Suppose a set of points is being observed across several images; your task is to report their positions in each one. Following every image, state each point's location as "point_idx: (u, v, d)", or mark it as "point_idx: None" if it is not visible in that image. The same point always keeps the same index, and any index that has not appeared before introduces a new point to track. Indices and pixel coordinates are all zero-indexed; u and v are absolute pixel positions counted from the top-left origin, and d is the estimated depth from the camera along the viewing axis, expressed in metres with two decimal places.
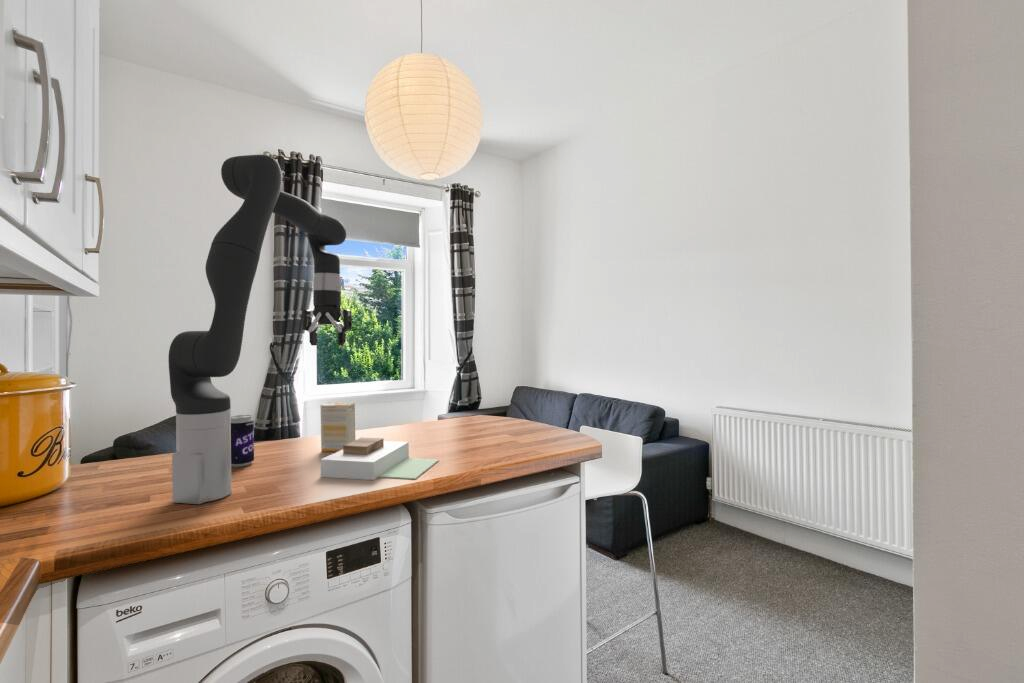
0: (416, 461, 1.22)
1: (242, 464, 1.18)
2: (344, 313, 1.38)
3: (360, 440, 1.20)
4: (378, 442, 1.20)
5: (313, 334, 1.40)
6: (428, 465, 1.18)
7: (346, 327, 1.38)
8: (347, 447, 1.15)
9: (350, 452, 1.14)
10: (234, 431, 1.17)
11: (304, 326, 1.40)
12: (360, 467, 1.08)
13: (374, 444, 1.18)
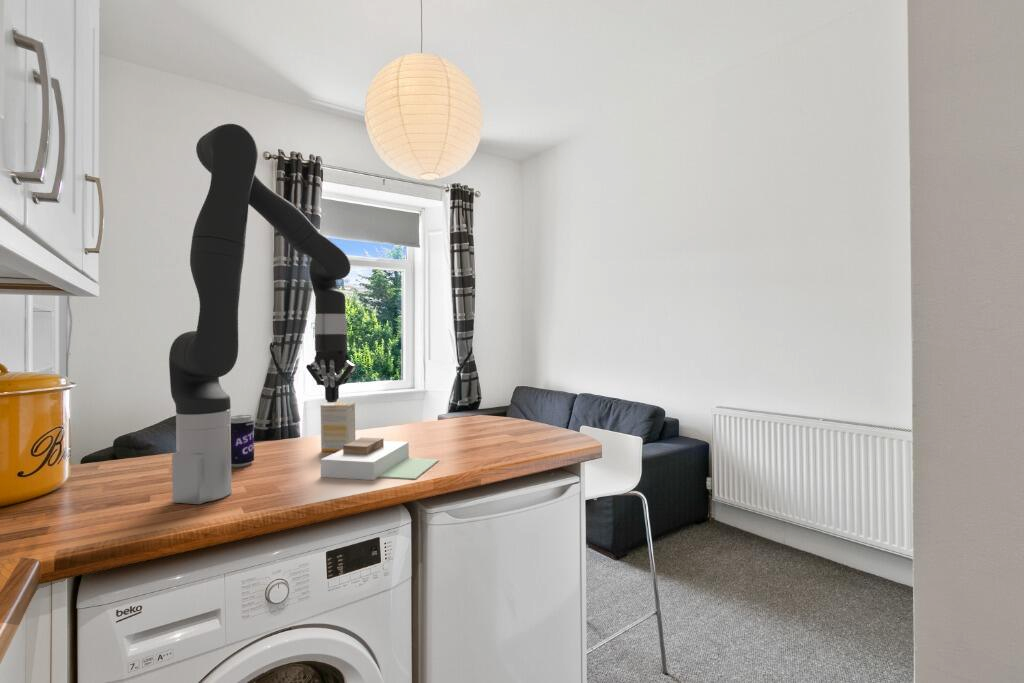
0: (416, 461, 1.22)
1: (242, 464, 1.18)
2: (348, 368, 1.18)
3: (360, 440, 1.20)
4: (378, 442, 1.20)
5: (329, 389, 1.19)
6: (428, 465, 1.18)
7: (339, 381, 1.18)
8: (347, 447, 1.15)
9: (350, 452, 1.14)
10: (234, 431, 1.17)
11: (319, 380, 1.19)
12: (360, 467, 1.08)
13: (374, 444, 1.18)
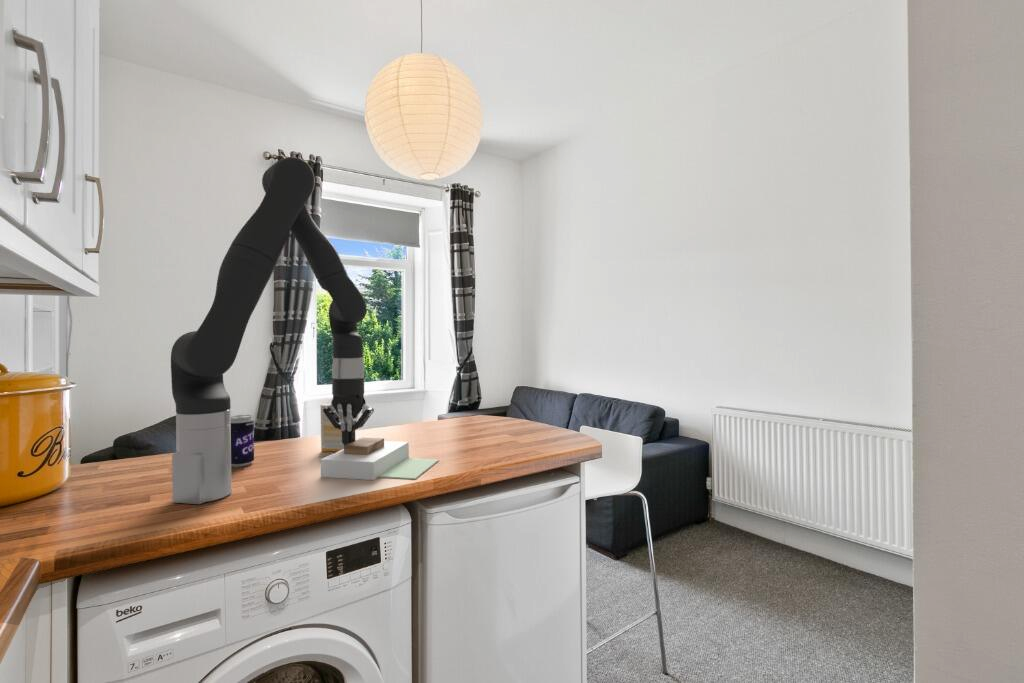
0: (416, 461, 1.22)
1: (242, 464, 1.18)
2: (365, 413, 1.17)
3: (361, 440, 1.20)
4: (379, 442, 1.20)
5: (346, 433, 1.19)
6: (428, 465, 1.18)
7: (356, 425, 1.18)
8: (348, 447, 1.14)
9: (351, 452, 1.14)
10: (234, 431, 1.17)
11: (336, 424, 1.19)
12: (360, 467, 1.08)
13: (375, 444, 1.18)
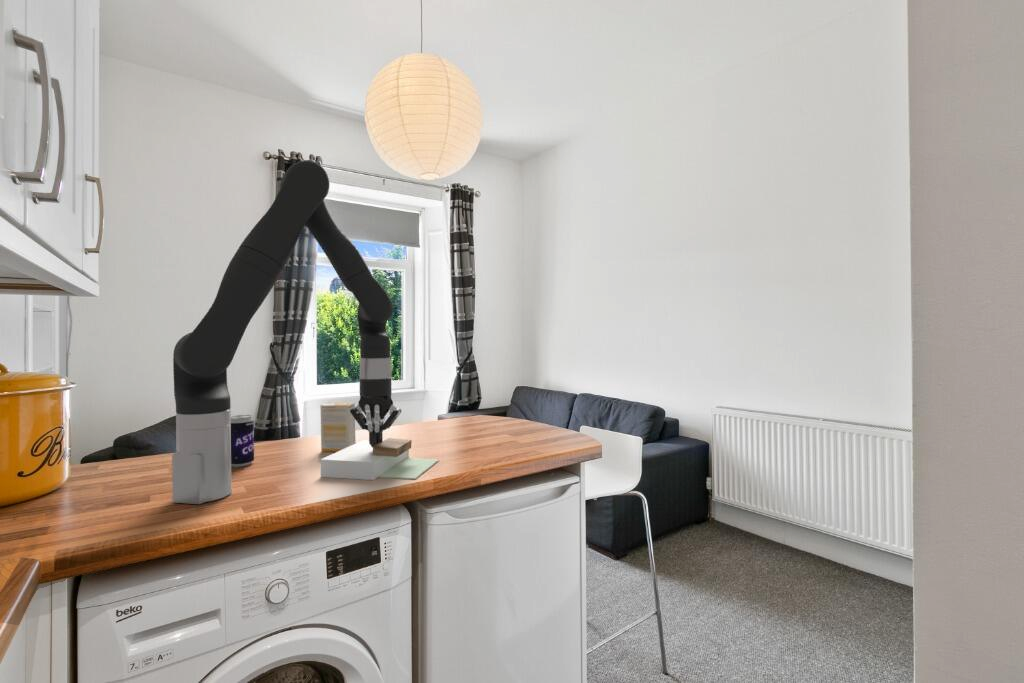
0: (416, 461, 1.22)
1: (242, 464, 1.18)
2: (393, 413, 1.16)
3: (388, 441, 1.19)
4: (407, 444, 1.18)
5: None
6: (428, 465, 1.18)
7: (384, 426, 1.16)
8: (377, 448, 1.13)
9: (380, 453, 1.13)
10: (234, 431, 1.17)
11: (363, 425, 1.17)
12: (360, 467, 1.08)
13: (403, 446, 1.16)
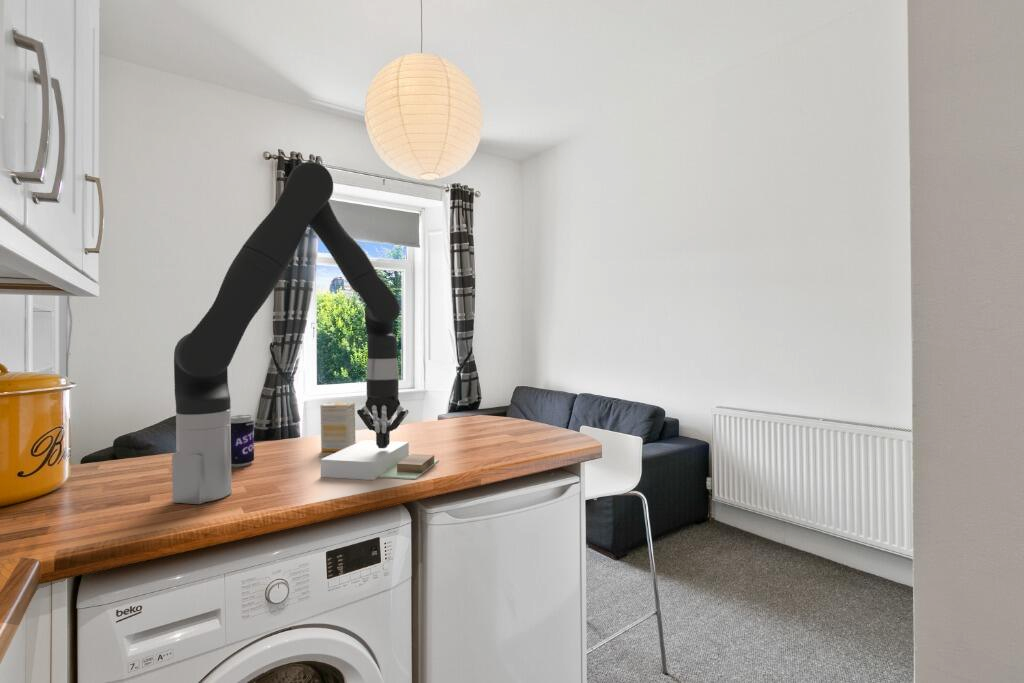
0: None
1: (242, 464, 1.18)
2: (400, 414, 1.15)
3: None
4: None
5: (381, 435, 1.17)
6: None
7: (391, 427, 1.16)
8: (416, 471, 1.12)
9: (413, 466, 1.12)
10: (234, 431, 1.17)
11: (370, 425, 1.17)
12: (360, 467, 1.08)
13: None
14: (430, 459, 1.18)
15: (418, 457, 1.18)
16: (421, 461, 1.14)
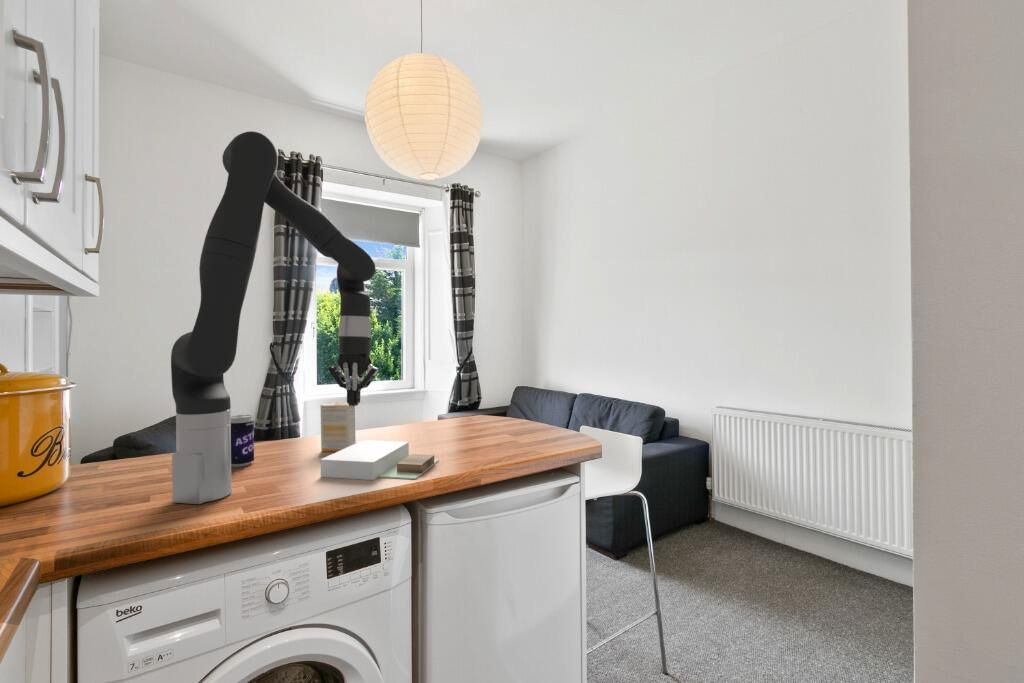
0: None
1: (242, 464, 1.18)
2: (370, 372, 1.16)
3: None
4: None
5: (351, 392, 1.18)
6: None
7: (362, 385, 1.17)
8: (416, 471, 1.12)
9: (413, 466, 1.12)
10: (234, 431, 1.17)
11: (341, 383, 1.18)
12: (360, 467, 1.08)
13: None
14: (430, 459, 1.18)
15: (418, 457, 1.18)
16: (421, 461, 1.14)
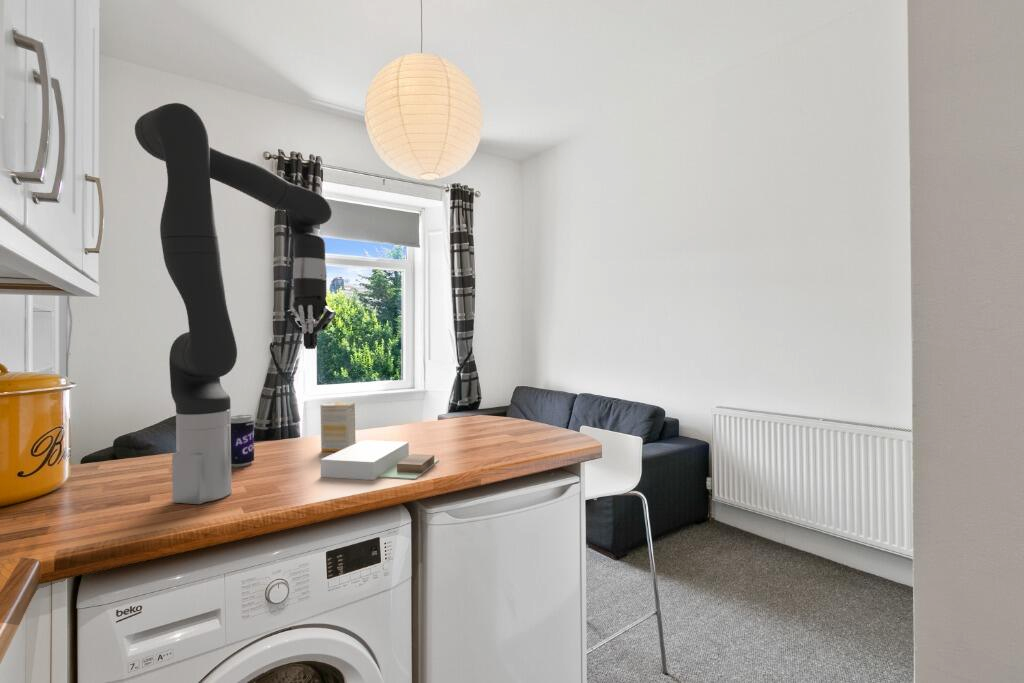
0: None
1: (242, 464, 1.18)
2: (326, 314, 1.16)
3: None
4: None
5: None
6: None
7: (317, 327, 1.17)
8: (416, 471, 1.12)
9: (413, 466, 1.12)
10: (234, 431, 1.17)
11: (297, 326, 1.18)
12: (360, 467, 1.08)
13: None
14: (430, 459, 1.18)
15: (418, 457, 1.18)
16: (421, 461, 1.14)
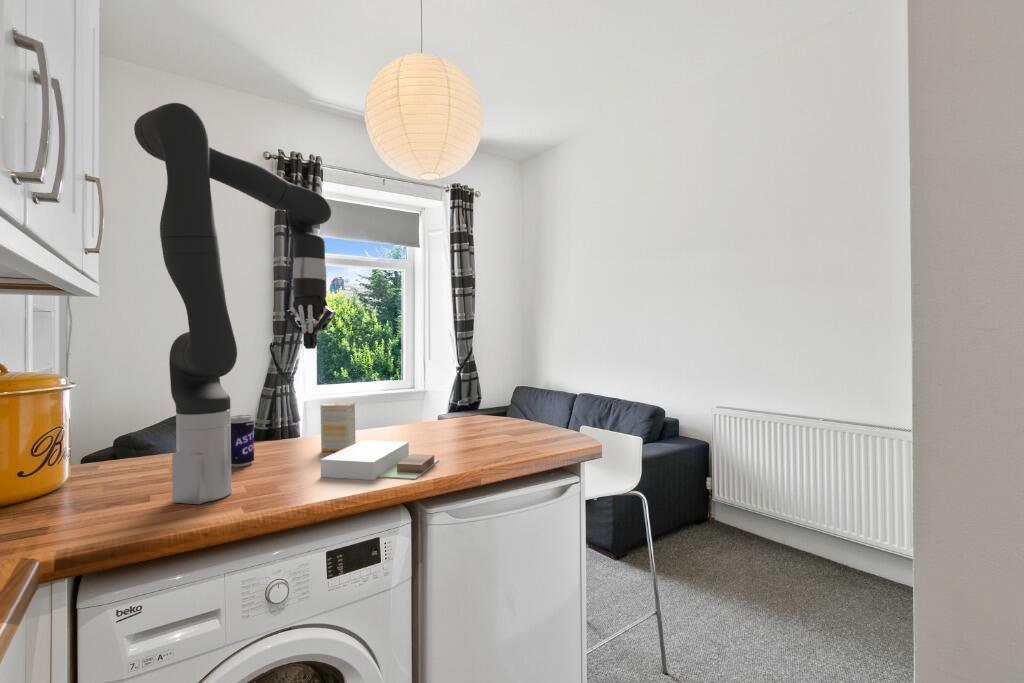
0: None
1: (242, 464, 1.18)
2: (326, 313, 1.16)
3: None
4: None
5: None
6: None
7: (317, 327, 1.17)
8: (416, 471, 1.12)
9: (413, 466, 1.12)
10: (234, 431, 1.17)
11: (297, 326, 1.18)
12: (360, 467, 1.08)
13: None
14: (430, 459, 1.18)
15: (418, 457, 1.18)
16: (421, 461, 1.14)
